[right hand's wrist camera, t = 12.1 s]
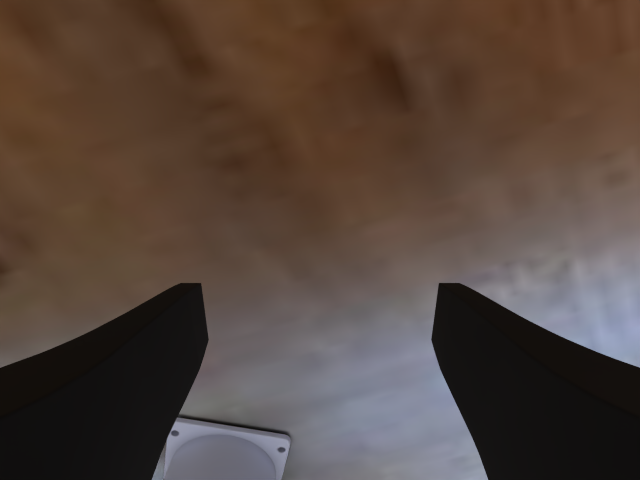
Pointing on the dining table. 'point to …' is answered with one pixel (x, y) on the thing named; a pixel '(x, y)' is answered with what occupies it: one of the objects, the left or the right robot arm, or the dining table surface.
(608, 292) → the dining table surface
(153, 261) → the dining table surface
